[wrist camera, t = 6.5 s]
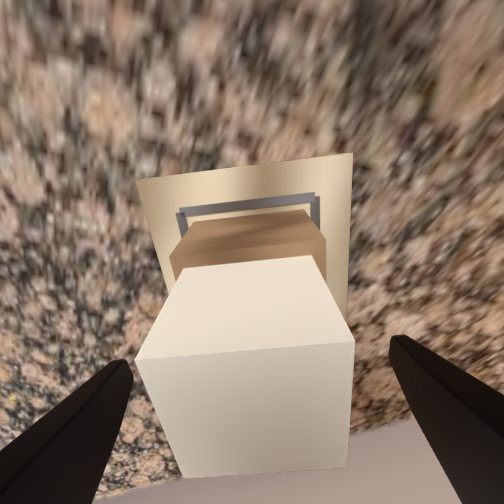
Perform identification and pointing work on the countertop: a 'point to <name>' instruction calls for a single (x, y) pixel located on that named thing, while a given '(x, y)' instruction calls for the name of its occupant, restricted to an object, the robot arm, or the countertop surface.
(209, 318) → the cream block
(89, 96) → the countertop surface
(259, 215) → the walnut block
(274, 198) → the build plate
